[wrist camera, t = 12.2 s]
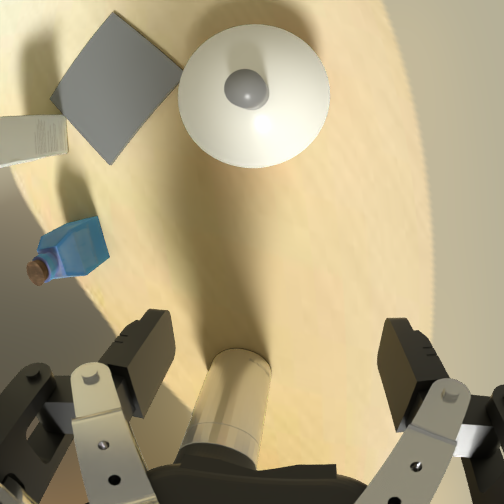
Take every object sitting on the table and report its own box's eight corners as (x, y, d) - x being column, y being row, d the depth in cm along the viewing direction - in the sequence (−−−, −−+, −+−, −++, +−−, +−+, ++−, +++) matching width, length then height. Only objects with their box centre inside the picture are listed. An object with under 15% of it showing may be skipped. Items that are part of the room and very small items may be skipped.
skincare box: (33, 161, 39) (-41, 182, 26) (30, 123, 37) (-45, 134, 24) (71, 152, 38) (-8, 171, 24) (68, 110, 36) (-13, 116, 22)
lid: (252, 194, 32) (243, 208, 27) (157, 100, 29) (130, 96, 24) (358, 101, 27) (371, 94, 22) (255, 5, 25) (246, -18, 19)
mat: (112, 164, 38) (109, 165, 38) (52, 98, 36) (49, 98, 35) (187, 74, 33) (185, 73, 32) (114, 13, 30) (112, 12, 30)
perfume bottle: (97, 215, 41) (42, 246, 30) (109, 257, 43) (60, 296, 32) (67, 222, 42) (12, 252, 31) (79, 261, 44) (29, 297, 33)
